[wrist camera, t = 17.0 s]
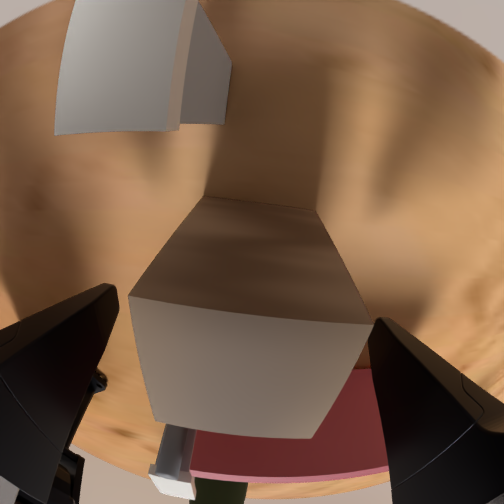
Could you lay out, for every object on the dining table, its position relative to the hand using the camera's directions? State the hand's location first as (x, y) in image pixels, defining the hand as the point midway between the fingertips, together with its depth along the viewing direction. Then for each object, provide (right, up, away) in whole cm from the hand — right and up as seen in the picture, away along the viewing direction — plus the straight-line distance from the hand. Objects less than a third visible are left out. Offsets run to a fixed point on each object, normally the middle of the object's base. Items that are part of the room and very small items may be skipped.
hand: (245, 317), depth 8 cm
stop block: (0, +2, +4) cm, 4 cm away
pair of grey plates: (-3, 0, +5) cm, 5 cm away
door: (+3, -6, +7) cm, 9 cm away
